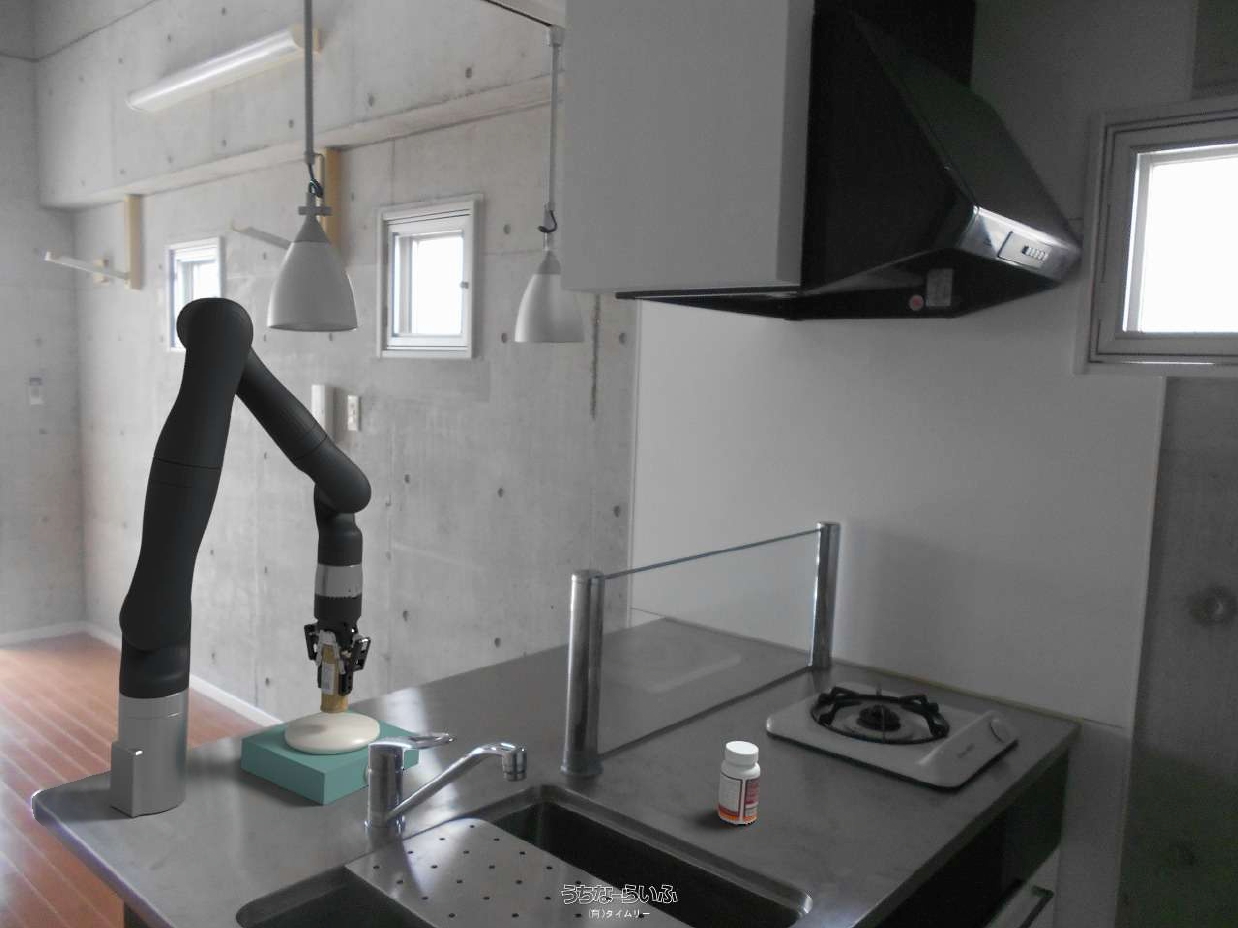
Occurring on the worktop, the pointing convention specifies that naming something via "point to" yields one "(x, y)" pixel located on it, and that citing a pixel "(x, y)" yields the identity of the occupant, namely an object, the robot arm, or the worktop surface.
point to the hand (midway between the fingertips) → (334, 690)
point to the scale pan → (331, 733)
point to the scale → (313, 764)
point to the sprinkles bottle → (331, 679)
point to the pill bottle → (739, 783)
